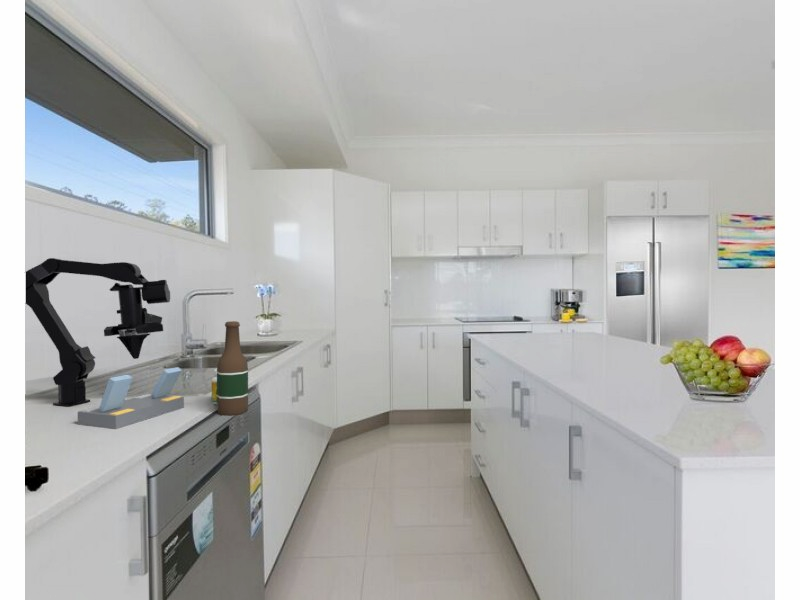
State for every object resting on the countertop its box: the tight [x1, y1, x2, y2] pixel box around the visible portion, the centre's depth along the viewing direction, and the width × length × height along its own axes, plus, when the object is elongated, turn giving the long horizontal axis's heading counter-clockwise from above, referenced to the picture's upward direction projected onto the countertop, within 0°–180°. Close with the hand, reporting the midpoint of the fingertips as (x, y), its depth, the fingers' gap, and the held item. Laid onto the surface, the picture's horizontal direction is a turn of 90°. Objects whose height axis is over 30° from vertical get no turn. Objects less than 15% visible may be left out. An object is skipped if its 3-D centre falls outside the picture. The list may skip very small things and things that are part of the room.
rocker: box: [150, 366, 183, 398], centre depth 125 cm, size 2×5×9 cm
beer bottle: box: [216, 320, 249, 417], centre depth 122 cm, size 8×8×24 cm
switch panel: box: [77, 393, 185, 430], centre depth 119 cm, size 12×21×3 cm, turn 162°
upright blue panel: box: [99, 374, 134, 412], centre depth 111 cm, size 2×5×9 cm, turn 162°
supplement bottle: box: [211, 368, 217, 406], centre depth 133 cm, size 5×5×10 cm
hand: (136, 358), depth 136 cm, fingers closed
